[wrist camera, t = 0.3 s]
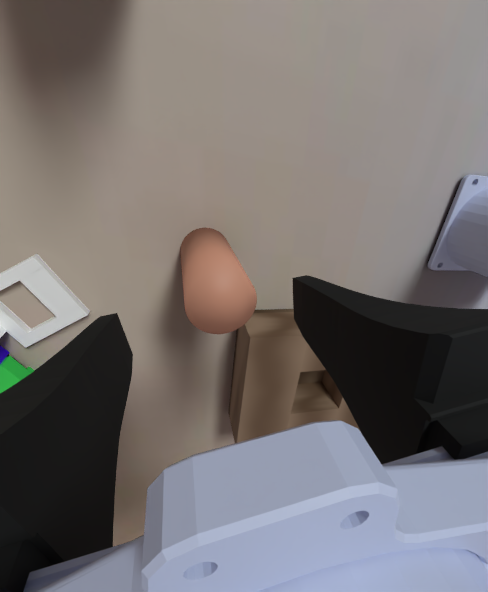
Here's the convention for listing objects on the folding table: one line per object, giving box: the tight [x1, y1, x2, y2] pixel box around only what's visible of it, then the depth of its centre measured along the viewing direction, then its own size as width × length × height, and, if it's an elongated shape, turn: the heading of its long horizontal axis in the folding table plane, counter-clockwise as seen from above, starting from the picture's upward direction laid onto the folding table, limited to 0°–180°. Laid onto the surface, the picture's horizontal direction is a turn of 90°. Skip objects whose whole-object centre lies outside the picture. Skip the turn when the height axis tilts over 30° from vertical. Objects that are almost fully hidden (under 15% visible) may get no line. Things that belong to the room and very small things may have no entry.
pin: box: [180, 228, 257, 334], centre depth 18 cm, size 4×4×8 cm
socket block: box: [229, 309, 360, 443], centre depth 27 cm, size 14×12×4 cm
